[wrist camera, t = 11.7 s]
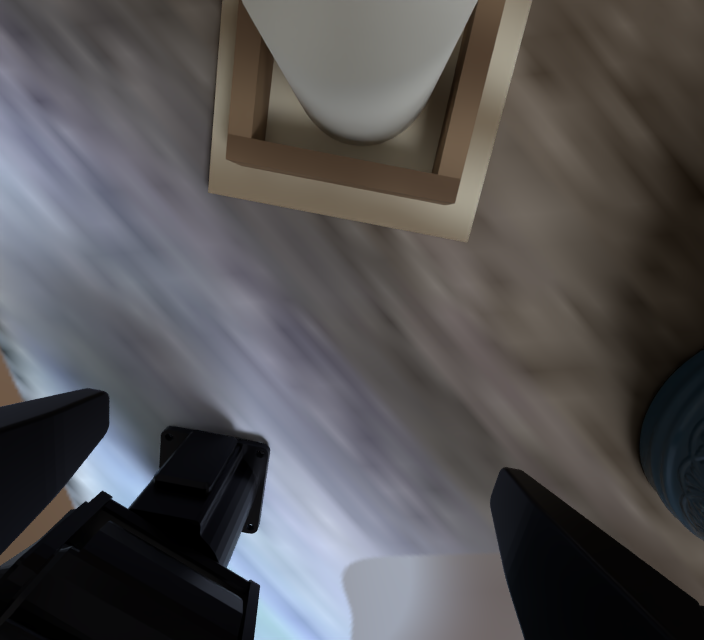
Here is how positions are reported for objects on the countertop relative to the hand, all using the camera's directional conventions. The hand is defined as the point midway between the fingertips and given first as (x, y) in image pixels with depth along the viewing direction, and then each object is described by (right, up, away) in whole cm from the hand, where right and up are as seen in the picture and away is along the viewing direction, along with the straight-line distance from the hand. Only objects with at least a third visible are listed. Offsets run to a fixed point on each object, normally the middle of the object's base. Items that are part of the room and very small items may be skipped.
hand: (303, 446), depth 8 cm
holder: (+2, +14, +8) cm, 17 cm away
